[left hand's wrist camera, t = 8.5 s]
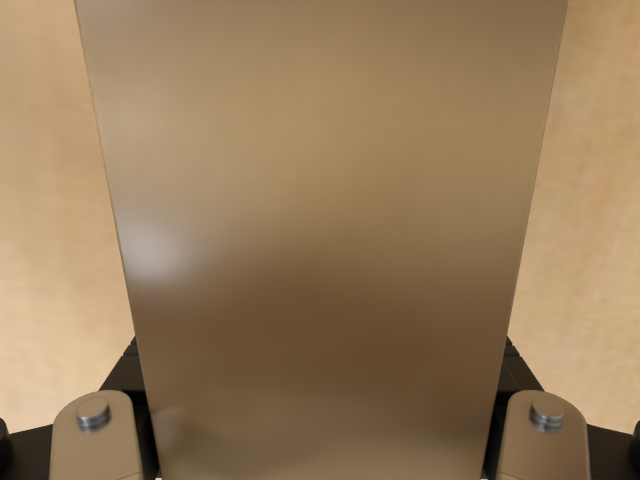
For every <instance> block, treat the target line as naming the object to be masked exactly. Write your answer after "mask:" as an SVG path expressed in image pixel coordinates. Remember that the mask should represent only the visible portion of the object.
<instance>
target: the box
mask: <svg viewBox="0 0 640 480" xmlns="http://www.w3.org/2000/svg"><path fill="white" fill-rule="evenodd" d="M74 4H75V9H76V15H77V20H78V26H79V31H80V36H81V42H82V47H83V53H84V58H85V64H86V69H87V75H88V80H89V85H90V91H91V96H92V102H93V107H94V113H95V118H96V124H97V129H98V134H99V140H100V145H101V151H102V156H103V162H104V167H105V173H106V178H107V183H108V189H109V194H110V200H111V205H112V211H113V216H114V222H115V227H116V232H117V238H118V243H119V249H120V254H121V260H122V265H123V271H124V276H125V281H126V287H127V292H128V298H129V303H130V309H131V314H132V320H133V325H134V330H135V336H136V341H137V347H138V352H139V358H140V363H141V369H142V374H143V379H144V385H145V390H146V396H147V401H148V407H149V412H150V418H151V423H152V428H153V434H154V439H155V445H156V450H157V456H158V461H159V467H160V472H161V477H162V480H481V475H482V469H483V464H484V458H485V453H486V447H487V442H488V436H489V431H490V425H491V420H492V415H493V409H494V404H495V398H496V393H497V387H498V382H499V376H500V371H501V365H502V360H503V354H504V349H505V343H506V338H507V332H508V327H509V321H510V316H511V310H512V305H513V299H514V294H515V288H516V283H517V278H518V272H519V267H520V261H521V256H522V250H523V245H524V239H525V234H526V228H527V223H528V217H529V212H530V206H531V201H532V195H533V190H534V184H535V179H536V173H537V168H538V162H539V157H540V151H541V146H542V141H543V135H544V130H545V124H546V119H547V113H548V108H549V102H550V97H551V91H552V86H553V80H554V75H555V69H556V64H557V58H558V53H559V47H560V42H561V36H562V31H563V25H564V20H565V14H566V9H567V4H568V0H74Z"/></svg>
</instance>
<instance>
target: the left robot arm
mask: <svg viewBox="0 0 640 480" xmlns="http://www.w3.org/2000/svg"><path fill="white" fill-rule="evenodd" d="M156 478H162V477H161V472H160V467H159V461H158V456H157V450H156V445H155V439H154V434H153V428H152V423H151V418H150V412H149V407H148V401H147V396H146V390H145V385H144V379H143V374H142V369H141V363H140V358H139V352H138V347H137V341H136V336H135V337H134V338H133V340H132V341H131V344H130V345H129V346H128V347H127V349H126V350H125V352H124V353H123V356H121V358H120V359H119V361H118V362H117V364H116V365H115V367H114V368H113V370H112V371H111V373H110V374H109V376H108V377H107V379H106V380H105V382H104V383H103V385H102V386H101V388H100V389H99V391H96V392H92V393H89V394H86V395H84V396H82V397H79V398H77V399H76V400H74V401H72V402H71V403H69V404H68V405H67V406H66V407H64V408H63V409H62V410H61V411H60V412H59V414H58V415H57V417H56V418H55V421H54V424H51V425H47V426H43V427H39V428H34V429H30V430H25V431H21V432H17V433H12V434H9V432H8V429H7V426H6V423H5V422H4V420H3V419H1V418H0V480H155V479H156ZM481 479H488V480H640V421H638V422H637V424H636V426H635V429H634V432H633V435H631V434H627V433H622V432H618V431H613V430H609V429H605V428H600V427H596V426H593V425H590V424H587V423H586V421H585V418H584V417H583V415H582V414H581V412H580V411H579V410H578V409H577V408H576V407H575V406H573V405H572V404H571V403H569V402H568V401H566V400H564V399H563V398H561V397H559V396H556V395H554V394H551V393H548V392H545V391H544V389H543V388H542V386H541V385H540V383H539V382H538V381H537V379H536V378H535V376H534V375H533V373H532V372H531V370H530V369H529V367H528V366H527V364H526V363H525V361H524V360H523V358H522V357H520V354H519V352H518V351H517V349H516V348H515V346H512V342H511V341H510V339H509V338H508V336H507V338H506V343H505V349H504V354H503V360H502V365H501V371H500V376H499V382H498V387H497V393H496V398H495V404H494V409H493V415H492V420H491V425H490V431H489V436H488V442H487V447H486V453H485V458H484V464H483V469H482V475H481Z"/></svg>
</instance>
